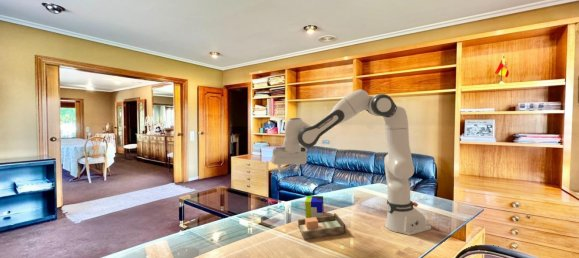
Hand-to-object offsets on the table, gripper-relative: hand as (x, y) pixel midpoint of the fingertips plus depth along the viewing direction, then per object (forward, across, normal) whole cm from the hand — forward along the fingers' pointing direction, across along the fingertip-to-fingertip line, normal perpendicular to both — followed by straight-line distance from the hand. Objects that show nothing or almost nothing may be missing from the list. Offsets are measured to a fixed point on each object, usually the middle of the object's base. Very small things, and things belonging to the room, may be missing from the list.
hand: (287, 172), depth 141 cm
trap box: (+28, +16, -15) cm, 36 cm away
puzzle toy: (+29, +25, +3) cm, 38 cm away
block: (+26, +11, -14) cm, 32 cm away
